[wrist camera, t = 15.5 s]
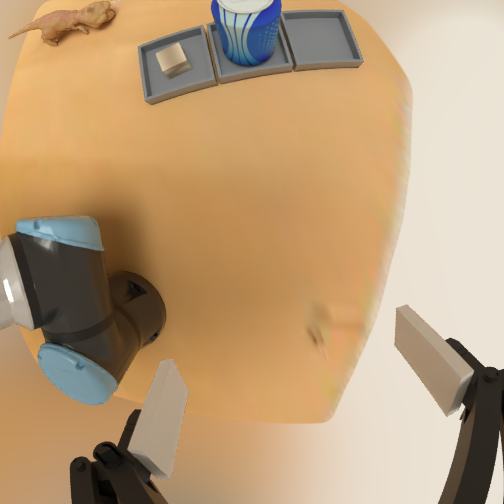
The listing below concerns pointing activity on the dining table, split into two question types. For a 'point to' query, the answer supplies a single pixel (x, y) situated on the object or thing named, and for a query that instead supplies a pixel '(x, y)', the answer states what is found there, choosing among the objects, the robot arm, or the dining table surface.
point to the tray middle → (236, 72)
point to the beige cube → (173, 61)
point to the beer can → (247, 29)
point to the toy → (69, 21)
